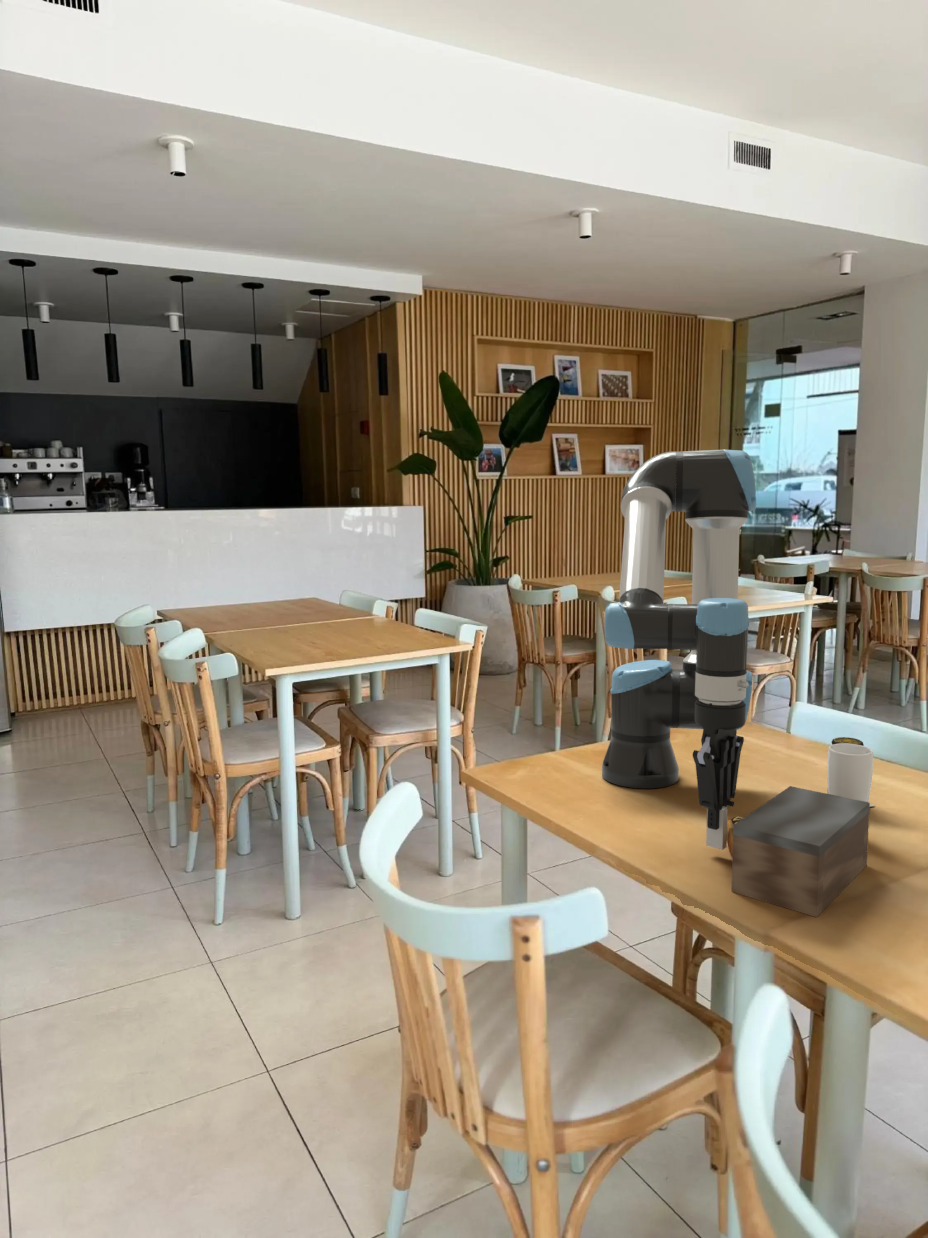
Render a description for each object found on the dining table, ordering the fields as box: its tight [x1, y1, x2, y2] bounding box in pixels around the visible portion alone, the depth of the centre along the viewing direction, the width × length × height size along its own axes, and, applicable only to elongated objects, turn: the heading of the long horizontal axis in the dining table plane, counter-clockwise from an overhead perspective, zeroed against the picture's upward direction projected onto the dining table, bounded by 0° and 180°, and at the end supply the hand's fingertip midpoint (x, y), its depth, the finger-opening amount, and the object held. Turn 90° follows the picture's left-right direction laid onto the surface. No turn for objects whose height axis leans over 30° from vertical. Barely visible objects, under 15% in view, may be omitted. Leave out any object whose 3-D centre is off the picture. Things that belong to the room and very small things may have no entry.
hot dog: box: [727, 815, 744, 859], centre depth 134 cm, size 5×13×5 cm, turn 171°
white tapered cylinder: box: [826, 743, 874, 803], centre depth 142 cm, size 7×7×15 cm
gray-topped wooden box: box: [731, 785, 871, 918], centre depth 128 cm, size 12×21×10 cm, turn 139°
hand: (716, 846), depth 136 cm, fingers closed
